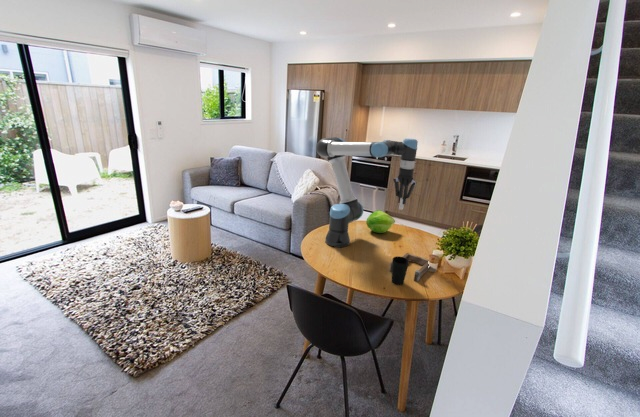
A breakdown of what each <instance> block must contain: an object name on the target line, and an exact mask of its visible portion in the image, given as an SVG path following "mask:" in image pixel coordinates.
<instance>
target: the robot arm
mask: <svg viewBox="0 0 640 417" xmlns="http://www.w3.org/2000/svg"><path fill="white" fill-rule="evenodd" d="M418 142H419V141H418V139H415V138H403V141H396V140H390V139H387V140H386V139H385V140H382V141H345V140H344V139H342V138H340V137H338V136H337V137H325V138H324V137H323V138H321V139H320V140H319V141H318V142H317V143H316V146H315V151H316V153H317V154H318V156H320V157H321V158H323V159H325V158H327V161H328V162H329V163H330V164H331V167H332V171H333V174H334V179H335V184H336V186H337V190H338V194H339V198H340V201H339V203H335V204H333V205H332V206H331V207H330V211H329V224H328V225H329V226H328V231H327V234H326V236H325V238H324V239H325V241H324V242H325V244H326V243H327V245H328V246H330V247H333V246H334V248H344V247H348V246H349V245H350V241H351V240H350V239H351V238H350V235H349V224H350V223H353V222H356V221H358V220H360V218H361V217H362V216H363V214H364V207H363V204H362V203H361V202H359V201H358V198H357V197H356V196H355V195H354V191H353V187H352V183H351V180H350V175H349V172H348V169H347V165H346V161H345V159H346V158H347V157H349V156H350V157H375V158H383V157H388V156H399V157H400V162H399V164H400V165H399V172H398V175H397V177H396V178H393V183H394V189H395V196H396V197H398V205H399V206H398V210H400V211H402V210H403V209H404V205H406V202H407V199H409V198H411V195H412V192H413V190H414V189H415V186H416V185H417V183H418V182H417V181H415V180H414V171H415V164H416V156H417V151H418ZM410 184H411V185H410Z"/></svg>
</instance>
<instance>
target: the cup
mask: <svg viewBox="0 0 640 417" xmlns="http://www.w3.org/2000/svg"><path fill="white" fill-rule="evenodd" d="M391 262H392V272H391V283H392V284H393V285H395V286H403V285H404V282H405V278H406V275H407V273H408V272H407V271H408V267H409V264H410V261H409V260H408V259H406V258H404V257H403V256H394V257H393V258H392V261H391Z"/></svg>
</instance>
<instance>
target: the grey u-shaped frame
mask: <svg viewBox="0 0 640 417" xmlns="http://www.w3.org/2000/svg"><path fill="white" fill-rule="evenodd" d="M402 257H404V258H406V259H408V260H409V262H412V263H415V264H418V265H421V266H422V267H421V268H419V270H418V269H416V270H415V272H414V277H413V281H414V282H417V283H418V282H420V279H421V278H422V277H423V276H424V275H425V273H427V271H428V270H429V269H428V266H429V264H428V261H429V260H430V259H427V258H424V257H421V256H417V255H415V254H411V253H409V252H407V253H405V254H404V255H403V256H402ZM389 272H391V273H392V261H391V262H390V267H389Z"/></svg>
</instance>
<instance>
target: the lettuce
mask: <svg viewBox="0 0 640 417" xmlns="http://www.w3.org/2000/svg"><path fill="white" fill-rule="evenodd" d="M395 223H396V219H395V218H394V217H392V216H391V215H389V213H386V212H384V211H382V210H376V211H373V212H371V213H370V214H369V215H368V217H367V218H366V223H365V224H366V226H367V227H368V229H370V230H371V231H372V232H374V233H376V234H382V233H383V234H384V233H386V232H388V231H389V230H390V228H392V226H393V225H394V224H395Z"/></svg>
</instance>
